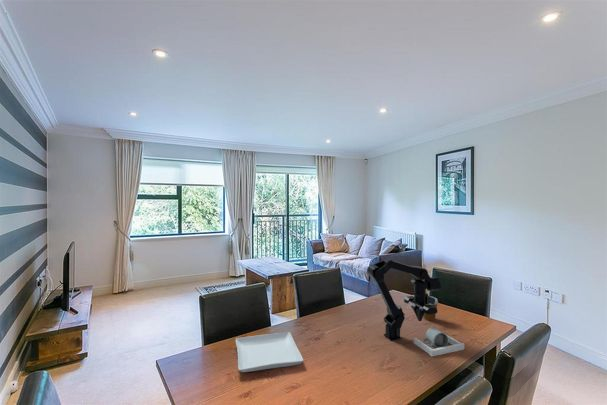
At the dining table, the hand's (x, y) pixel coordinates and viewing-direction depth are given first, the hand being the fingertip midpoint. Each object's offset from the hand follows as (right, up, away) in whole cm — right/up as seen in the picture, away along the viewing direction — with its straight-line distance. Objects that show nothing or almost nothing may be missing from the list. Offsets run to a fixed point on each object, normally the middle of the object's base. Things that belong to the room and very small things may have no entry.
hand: (419, 321), depth 153 cm
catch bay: (+4, -7, -11) cm, 14 cm away
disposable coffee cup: (+13, -7, +20) cm, 25 cm away
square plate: (-77, -8, -20) cm, 80 cm away
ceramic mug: (+2, -8, -11) cm, 14 cm away
